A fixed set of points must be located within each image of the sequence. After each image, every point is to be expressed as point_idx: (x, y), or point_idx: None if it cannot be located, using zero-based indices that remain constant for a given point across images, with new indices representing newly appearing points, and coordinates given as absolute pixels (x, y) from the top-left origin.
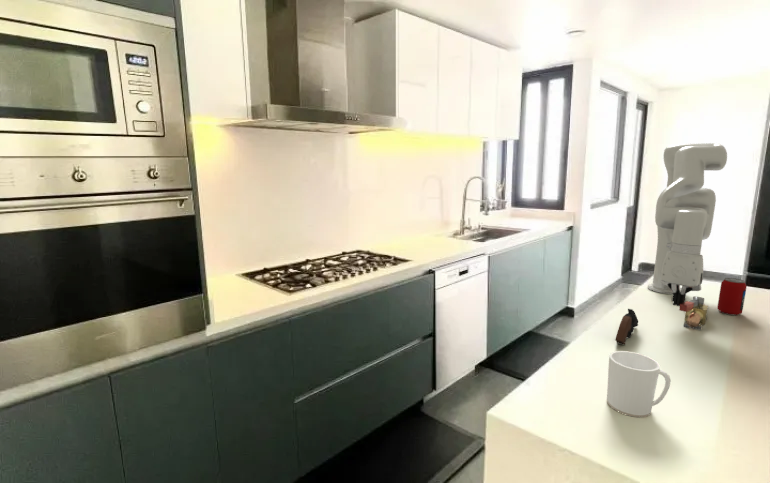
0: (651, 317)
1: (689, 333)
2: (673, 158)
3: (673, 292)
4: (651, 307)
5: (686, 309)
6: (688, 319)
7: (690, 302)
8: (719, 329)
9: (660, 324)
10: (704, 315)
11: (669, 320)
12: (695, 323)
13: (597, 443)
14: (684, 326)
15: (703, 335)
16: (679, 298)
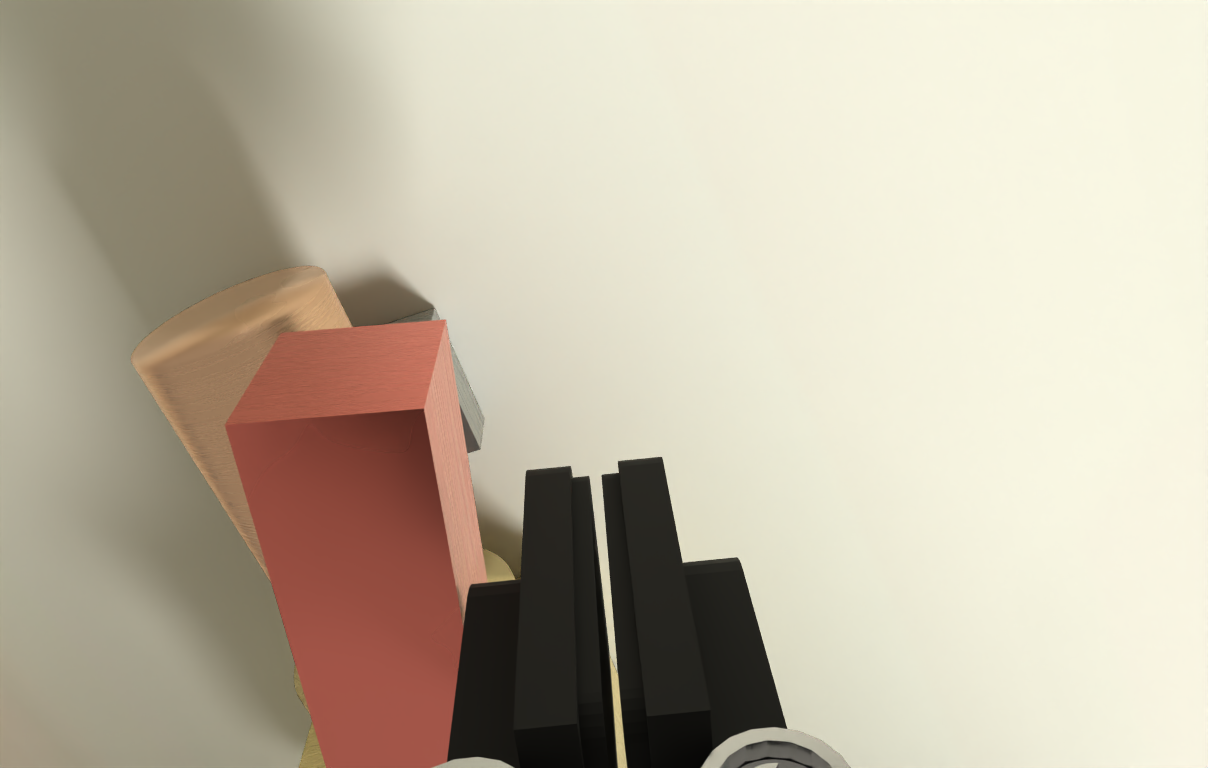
0: (963, 287)
1: (173, 42)
2: None
3: (769, 735)
4: (1111, 711)
5: (263, 368)
6: (284, 307)
7: (382, 751)
8: (148, 641)
9: (707, 46)
10: (319, 749)
11: (712, 406)
12: (188, 327)
13: None
14: (422, 316)
15: (22, 173)
16: (527, 613)
